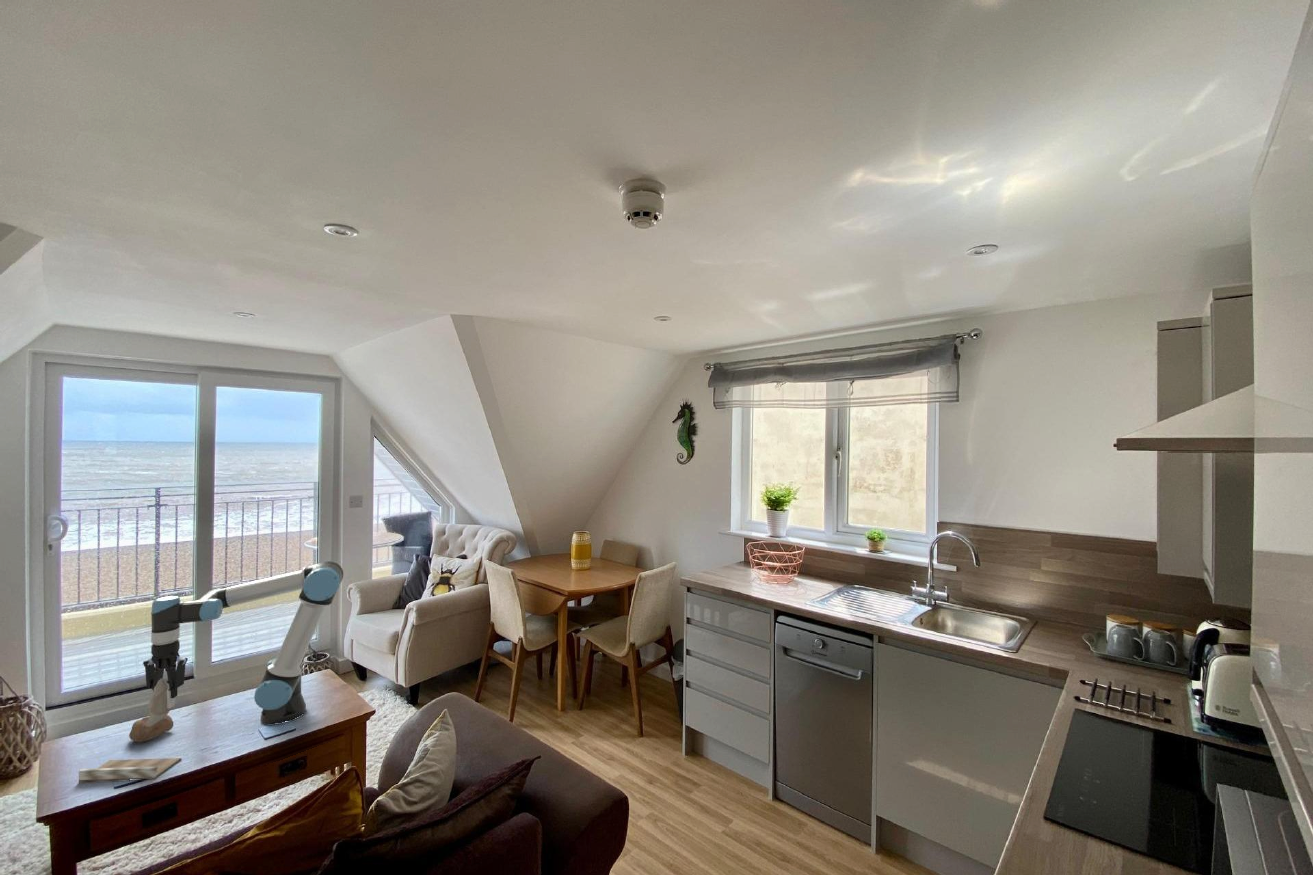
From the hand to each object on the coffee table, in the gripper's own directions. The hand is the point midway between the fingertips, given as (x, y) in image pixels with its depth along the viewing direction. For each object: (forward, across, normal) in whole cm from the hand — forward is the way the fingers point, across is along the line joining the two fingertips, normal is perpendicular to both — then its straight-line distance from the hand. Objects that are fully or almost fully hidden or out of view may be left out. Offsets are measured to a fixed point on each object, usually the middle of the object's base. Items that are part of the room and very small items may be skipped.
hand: (165, 706), depth 194 cm
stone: (+16, +16, -11) cm, 25 cm away
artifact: (+5, 0, +3) cm, 5 cm away
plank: (+16, +1, +12) cm, 20 cm away
